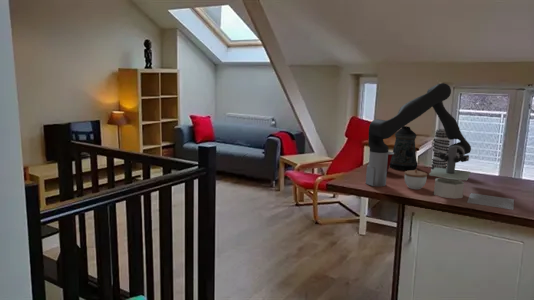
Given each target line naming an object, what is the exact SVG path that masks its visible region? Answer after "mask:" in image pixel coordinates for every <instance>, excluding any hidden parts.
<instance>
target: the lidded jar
mask: <svg viewBox="0 0 534 300" xmlns="http://www.w3.org/2000/svg"><path fill="white" fill-rule="evenodd" d="M427 177H428V173H427V172H425V171H422V170H418V169H417V168H416V169H415V170H409V171H404V183H405V185H406V186H407V187H408V189H411V190H422V189H423V187H424V186H425V185H426V182H427Z"/></svg>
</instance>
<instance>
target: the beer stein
mask: <svg viewBox="0 0 534 300" xmlns="http://www.w3.org/2000/svg"><path fill="white" fill-rule="evenodd" d="M417 136H418V135H417V134H416V133H415V131H413V129H411V127H410V126H407V125H405V126H403V127H402V128H401V129H399V130H398V131H397V132H396V133H395V134H394V137H395V140H394V145H393V149H392V150H393V151H392V152H393V153H394V154H393V156H392V158H391V162H390V165H389V169H393V170H396V171H404V170H407V171H409V170H415V169H417V168H418V164H419V163H418V161H417V156H416V155H417V154H416V153H417V152H416V139H417Z"/></svg>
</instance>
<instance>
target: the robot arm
mask: <svg viewBox="0 0 534 300" xmlns="http://www.w3.org/2000/svg"><path fill="white" fill-rule="evenodd" d="M451 94H452V88H451V86H450V85H449V84H447V83H444V82H441V83H437V84H435V85H433V86H431V87H430V88H429V89H427V91H426V93H424V94H423V95H420V96H417V97H415V98H414V99H411V100H409V101H408V102H406V103H405V104H403V105H402V106H401V107H400V108H399V110H398V112H397V114H396V115H395V116H394V117H391V118H390V119H387V120H384V119H372V121H371V122H370V124H369V127H368V139H367V141H368V142H367V143H368V147H369V154H368V164H367V165H366V173H365V184H366V185H369V186H370V187H385V186H386V185H387V173H388V172H387V163H388V151H390V150H389V149H390V148H389V146H388V145H387V144H386V143H385V141H384V140H387V139H390V138H391V137H392V136H394V135H395V134H396V132H397V131H399V130H400V129H401V128H402V127H403V126H407V125H408V124H409V123H411V122H412V121H414V120H416V119H418V118H419V117H421V116H422V115H424V114H425V113H426V112H428V111H429V110H430V109H431V108H433V110H434V112H435V114H436V115H437V118H439V120H440V123H441V125H442V126H443V129H444V130H445V132H446V135H447V137H448V139H449V140H448V141H451V140H452V141H453V140H458V142H456V143H453V144H450V145H448V147H456V148H457V154H456V158H455V164H457V163H460V162H461V163H465V162H469V160H470V155H469V154H470V153H471V151H472V147H471V145H470V143H469V142H468V140H467V139H466V138H465V137H464V135H463V133H462V131H461V130H460V127H459V123H458V121H457V120H456V118H454V117H453V115H452V114H451V113H450V112H449V111H448V110H447V109H446V107H445V106H444V103H443V102H444V101H446V100H447V99H449V97H450V96H451ZM439 158H440V159H442V160H445V161H447V159H448V151H447V153H445V154H443V153H442V152H439Z"/></svg>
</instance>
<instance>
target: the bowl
mask: <svg viewBox="0 0 534 300" xmlns="http://www.w3.org/2000/svg"><path fill="white" fill-rule="evenodd" d="M434 178H435V177H434ZM464 181H465V180H459V179H452V178H445V177H438V178H437V177H436V178H435V179H434V188H433V189H434V190H433V195H434V196H438V197H441V198H447V199H462V198H463V197H464V190H465V187H464V186H465V182H464Z"/></svg>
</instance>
